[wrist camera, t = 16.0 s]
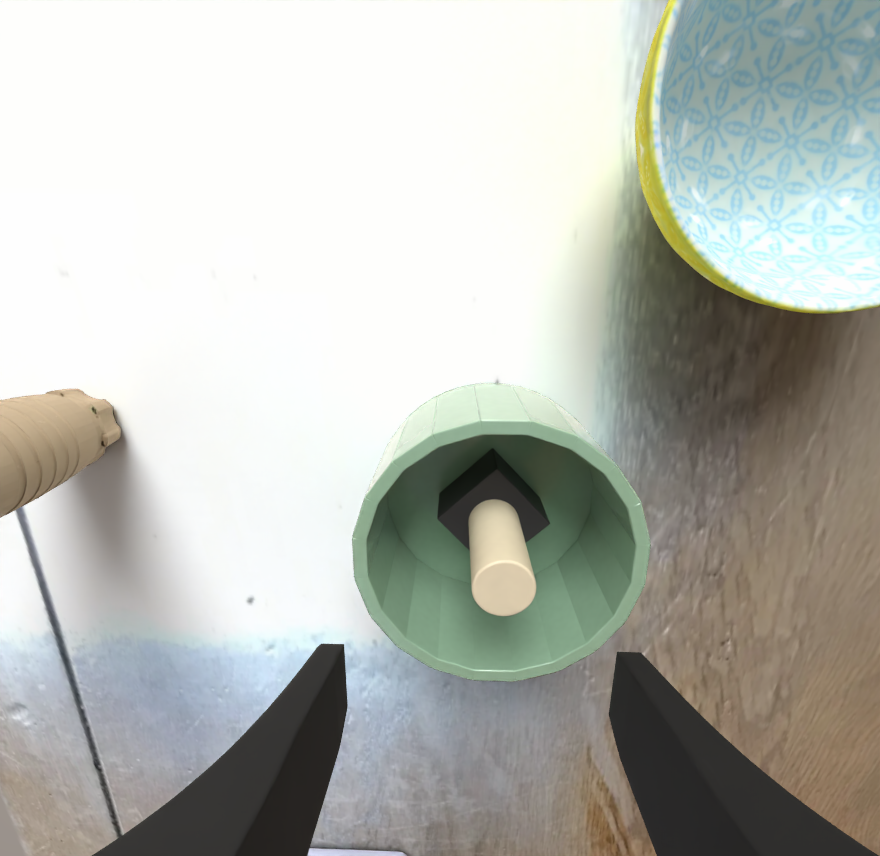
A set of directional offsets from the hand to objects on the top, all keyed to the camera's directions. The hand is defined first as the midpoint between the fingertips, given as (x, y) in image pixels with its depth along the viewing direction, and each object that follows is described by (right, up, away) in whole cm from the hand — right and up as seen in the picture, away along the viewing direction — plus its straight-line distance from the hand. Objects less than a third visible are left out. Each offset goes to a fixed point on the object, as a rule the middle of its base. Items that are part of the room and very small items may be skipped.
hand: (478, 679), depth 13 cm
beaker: (+1, +4, +9) cm, 10 cm away
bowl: (+10, +17, +5) cm, 21 cm away
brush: (+1, +4, +9) cm, 10 cm away
